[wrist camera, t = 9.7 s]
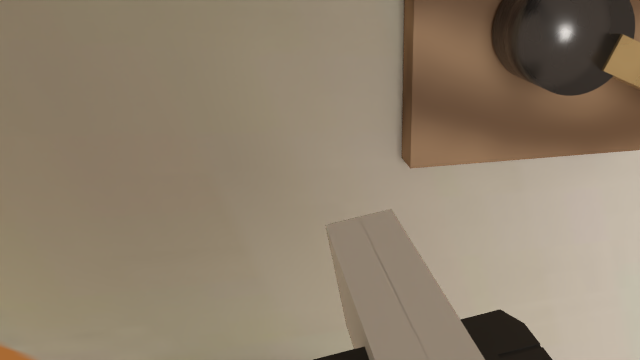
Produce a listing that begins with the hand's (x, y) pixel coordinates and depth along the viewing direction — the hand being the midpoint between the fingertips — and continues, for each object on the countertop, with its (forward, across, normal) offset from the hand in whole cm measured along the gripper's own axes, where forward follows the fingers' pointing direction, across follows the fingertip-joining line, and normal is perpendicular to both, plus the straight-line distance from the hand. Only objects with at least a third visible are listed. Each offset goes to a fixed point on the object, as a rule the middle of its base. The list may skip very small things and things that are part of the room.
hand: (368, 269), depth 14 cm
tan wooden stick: (+21, +19, -4) cm, 29 cm away
